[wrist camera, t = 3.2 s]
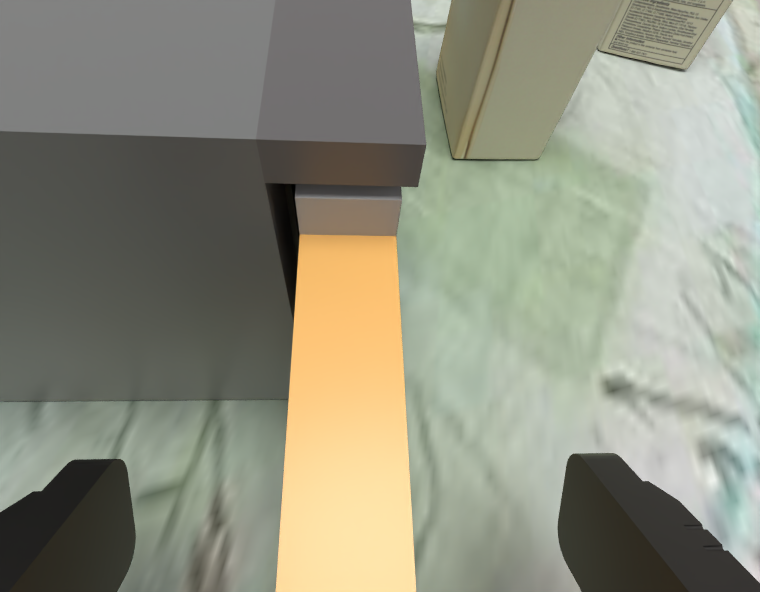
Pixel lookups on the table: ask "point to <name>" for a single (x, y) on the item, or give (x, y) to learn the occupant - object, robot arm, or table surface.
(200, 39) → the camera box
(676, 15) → the skincare box
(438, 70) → the skincare box
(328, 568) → the door
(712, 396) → the table surface
